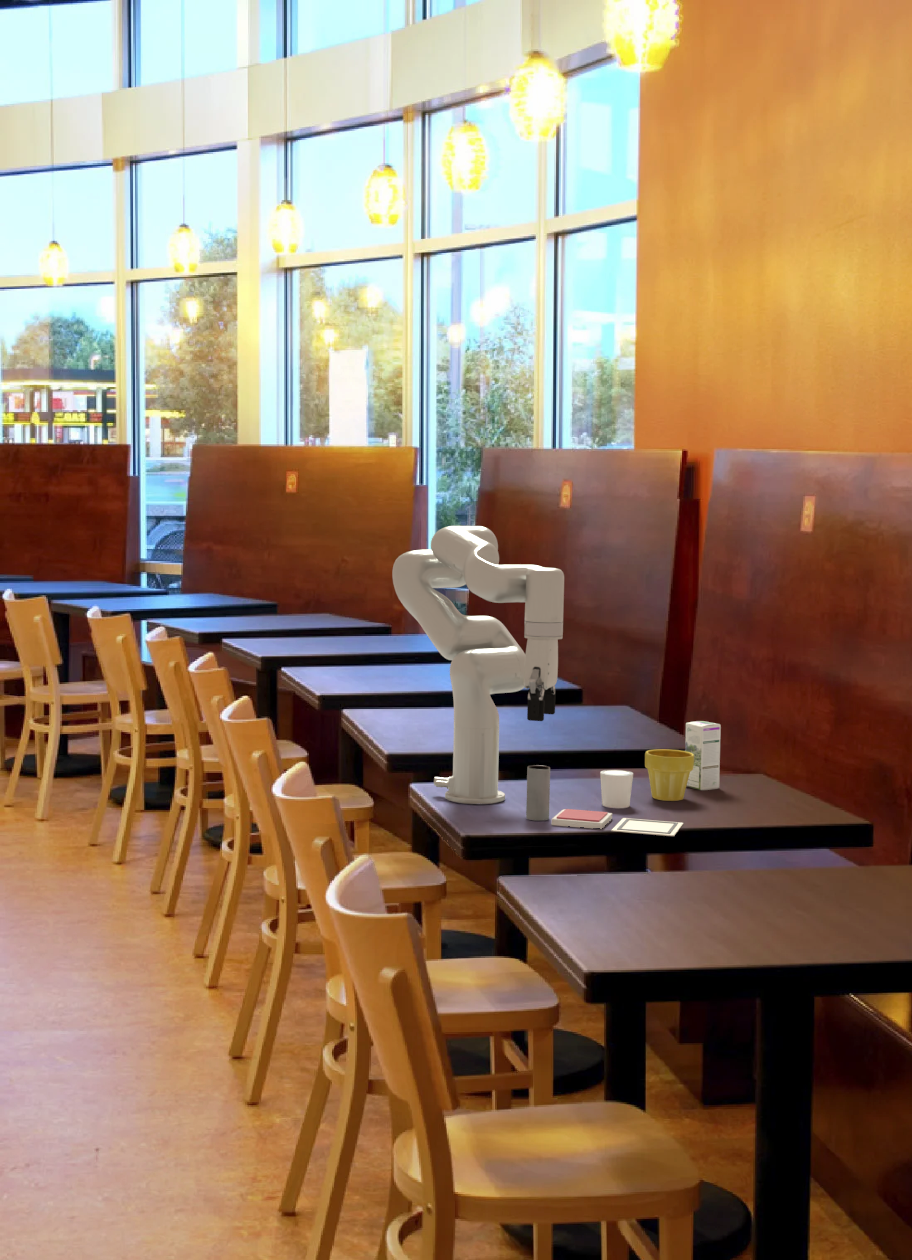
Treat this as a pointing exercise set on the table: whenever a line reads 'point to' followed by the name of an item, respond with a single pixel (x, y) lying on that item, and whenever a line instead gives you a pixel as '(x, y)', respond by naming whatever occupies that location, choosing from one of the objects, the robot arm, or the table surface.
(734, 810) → the table surface
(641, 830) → the print card
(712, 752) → the syrup box
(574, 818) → the ink pad
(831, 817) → the table surface
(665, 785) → the plant pot
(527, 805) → the grey cylinder
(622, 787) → the white cup
